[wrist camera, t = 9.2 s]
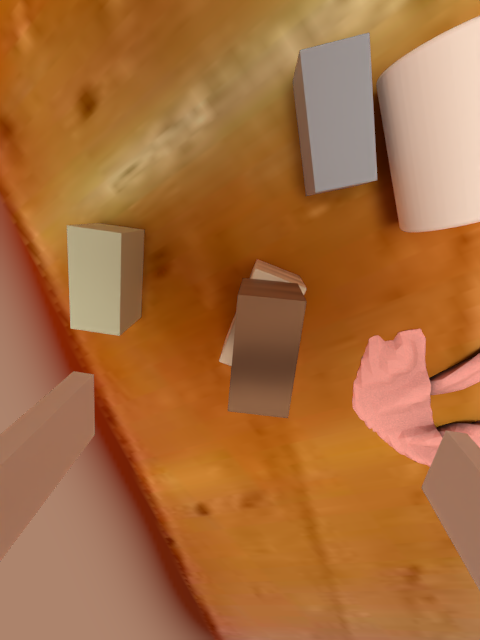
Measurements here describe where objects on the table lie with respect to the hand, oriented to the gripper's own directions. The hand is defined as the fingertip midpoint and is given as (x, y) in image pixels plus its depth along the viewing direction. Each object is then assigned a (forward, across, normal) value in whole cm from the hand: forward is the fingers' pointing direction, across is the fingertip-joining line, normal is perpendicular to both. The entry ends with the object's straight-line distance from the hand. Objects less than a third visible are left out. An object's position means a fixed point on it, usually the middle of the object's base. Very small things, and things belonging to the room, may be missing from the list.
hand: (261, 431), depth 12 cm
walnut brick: (+13, 0, -1) cm, 13 cm away
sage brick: (+18, -13, +1) cm, 22 cm away
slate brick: (+18, +3, +14) cm, 23 cm away
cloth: (+19, +21, -7) cm, 29 cm away
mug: (+18, +12, +15) cm, 27 cm away
